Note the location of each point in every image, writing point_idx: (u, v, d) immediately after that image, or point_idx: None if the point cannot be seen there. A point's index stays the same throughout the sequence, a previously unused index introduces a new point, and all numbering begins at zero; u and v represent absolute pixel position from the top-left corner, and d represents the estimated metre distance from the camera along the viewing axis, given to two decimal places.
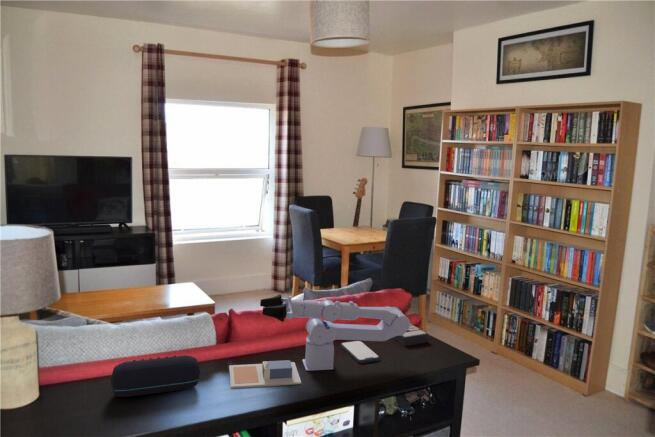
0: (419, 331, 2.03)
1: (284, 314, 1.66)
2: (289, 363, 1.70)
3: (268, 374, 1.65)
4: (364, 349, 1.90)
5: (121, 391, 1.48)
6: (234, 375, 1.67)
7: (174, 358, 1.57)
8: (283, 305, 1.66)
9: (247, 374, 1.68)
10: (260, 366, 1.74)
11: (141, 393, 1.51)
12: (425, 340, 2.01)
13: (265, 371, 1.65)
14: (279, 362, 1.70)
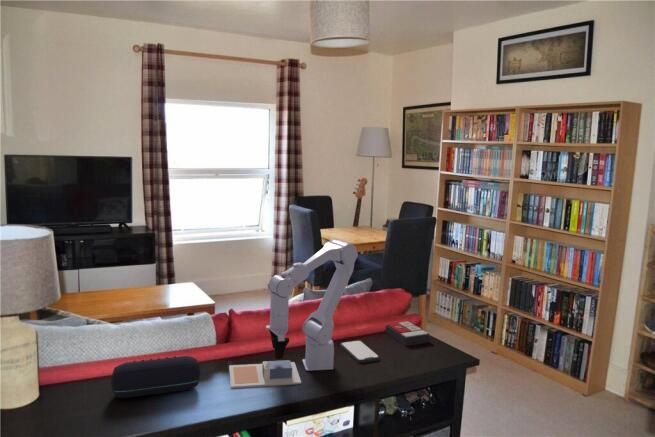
0: (420, 331, 2.03)
1: (280, 341, 1.61)
2: (289, 363, 1.70)
3: (268, 374, 1.65)
4: (364, 349, 1.90)
5: (122, 392, 1.48)
6: (234, 375, 1.67)
7: (174, 359, 1.56)
8: (272, 341, 1.61)
9: (247, 374, 1.68)
10: (260, 366, 1.74)
11: (141, 394, 1.51)
12: (427, 340, 2.01)
13: (265, 371, 1.65)
14: (279, 362, 1.70)
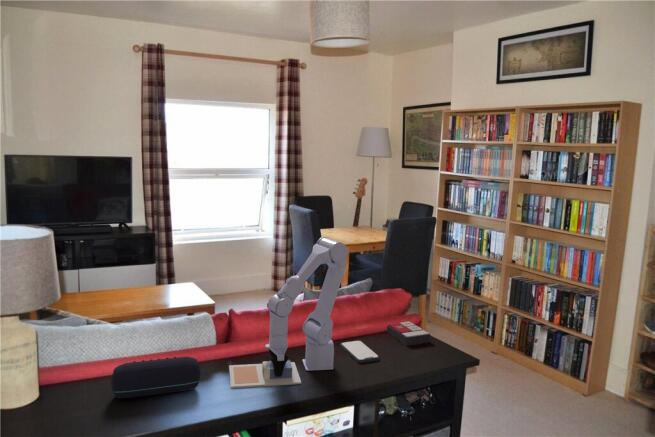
0: (421, 331, 2.03)
1: None
2: (289, 363, 1.70)
3: (268, 374, 1.65)
4: (364, 349, 1.90)
5: (122, 393, 1.48)
6: (234, 375, 1.67)
7: (174, 359, 1.56)
8: (271, 359, 1.63)
9: (247, 374, 1.68)
10: (260, 366, 1.74)
11: (141, 394, 1.51)
12: (428, 340, 2.01)
13: (265, 371, 1.65)
14: None
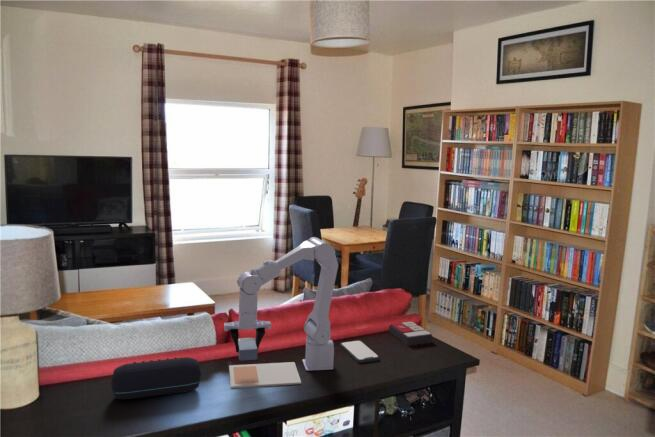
0: (423, 331, 2.03)
1: (230, 331, 1.64)
2: (249, 349, 1.62)
3: None
4: (364, 349, 1.90)
5: (122, 394, 1.47)
6: (234, 375, 1.67)
7: (175, 360, 1.55)
8: None
9: (247, 374, 1.68)
10: (260, 366, 1.74)
11: (142, 395, 1.50)
12: (429, 340, 2.01)
13: None
14: (252, 344, 1.65)
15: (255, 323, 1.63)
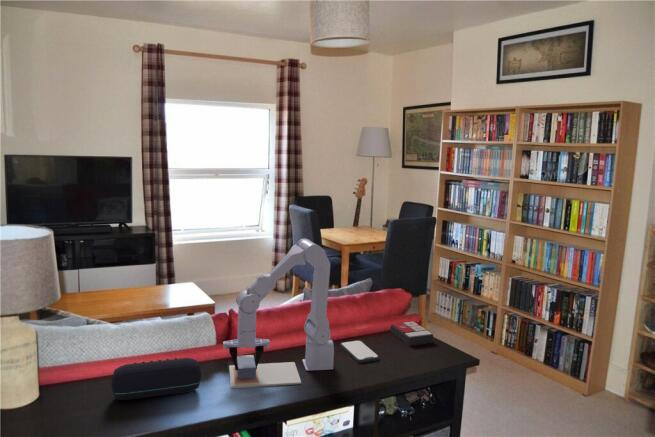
0: (425, 331, 2.03)
1: (229, 349, 1.65)
2: (248, 367, 1.63)
3: None
4: (364, 349, 1.90)
5: (122, 394, 1.47)
6: (234, 375, 1.67)
7: (175, 361, 1.55)
8: None
9: None
10: (260, 366, 1.74)
11: (142, 396, 1.50)
12: (431, 341, 2.01)
13: None
14: (250, 362, 1.66)
15: (254, 341, 1.65)
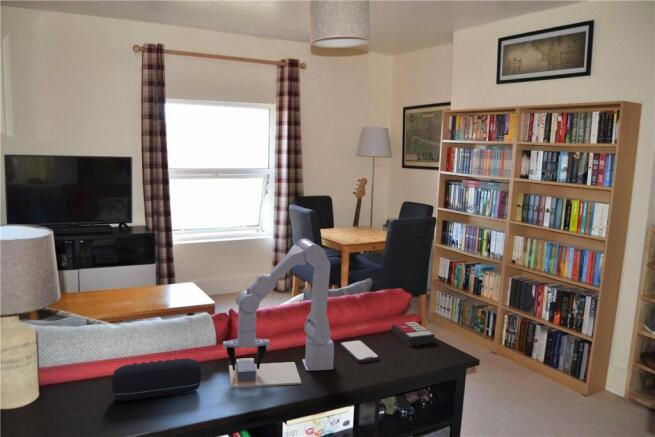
0: (426, 331, 2.03)
1: None
2: (248, 370, 1.63)
3: (236, 365, 1.70)
4: (364, 349, 1.90)
5: (122, 395, 1.47)
6: (234, 375, 1.67)
7: (175, 361, 1.55)
8: None
9: None
10: (260, 366, 1.74)
11: (142, 397, 1.49)
12: (432, 341, 2.01)
13: (236, 361, 1.71)
14: (250, 365, 1.67)
15: (254, 341, 1.65)
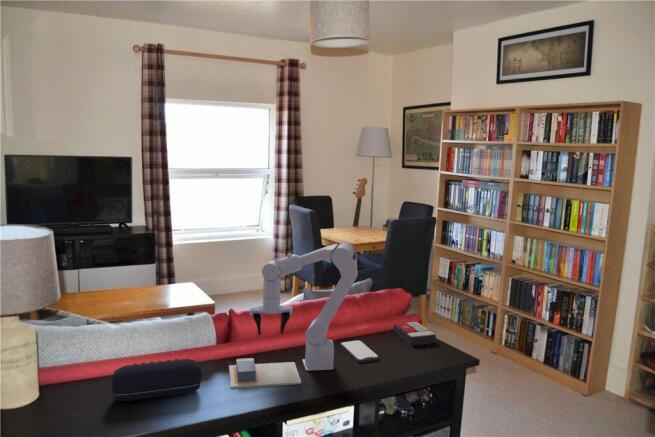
0: (427, 331, 2.03)
1: (253, 315, 1.77)
2: (248, 370, 1.63)
3: (236, 365, 1.70)
4: (364, 349, 1.90)
5: (122, 395, 1.46)
6: (234, 375, 1.67)
7: (176, 362, 1.54)
8: None
9: None
10: (260, 366, 1.74)
11: (142, 397, 1.49)
12: (433, 341, 2.01)
13: (236, 361, 1.71)
14: (250, 365, 1.67)
15: (278, 308, 1.77)
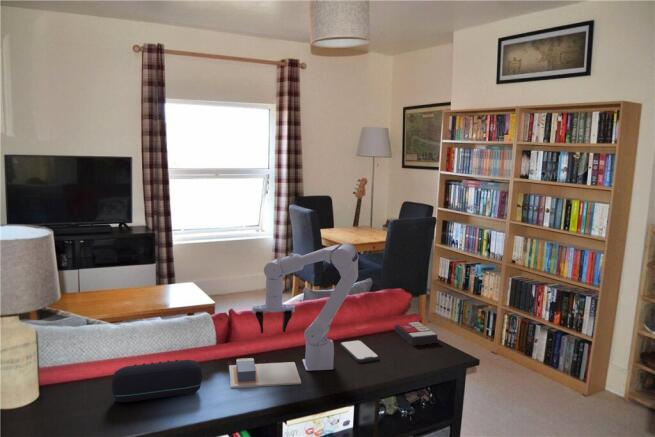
0: (429, 331, 2.03)
1: None
2: (248, 370, 1.63)
3: (236, 365, 1.70)
4: (364, 349, 1.90)
5: (122, 396, 1.46)
6: (234, 375, 1.67)
7: (176, 362, 1.54)
8: None
9: None
10: (260, 366, 1.74)
11: (142, 398, 1.49)
12: (435, 341, 2.01)
13: (236, 361, 1.71)
14: (250, 365, 1.67)
15: (280, 306, 1.78)
